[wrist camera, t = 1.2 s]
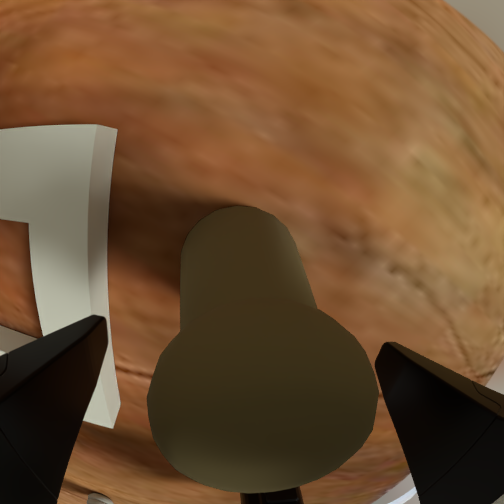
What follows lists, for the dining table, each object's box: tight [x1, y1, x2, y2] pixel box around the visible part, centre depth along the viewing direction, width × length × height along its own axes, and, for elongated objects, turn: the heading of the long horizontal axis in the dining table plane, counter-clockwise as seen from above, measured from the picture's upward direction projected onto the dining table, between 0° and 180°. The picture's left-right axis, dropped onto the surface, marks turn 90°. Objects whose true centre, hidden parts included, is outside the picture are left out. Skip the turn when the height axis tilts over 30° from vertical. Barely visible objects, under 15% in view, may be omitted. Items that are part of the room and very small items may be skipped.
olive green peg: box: [147, 206, 379, 493], centre depth 9 cm, size 6×6×11 cm
